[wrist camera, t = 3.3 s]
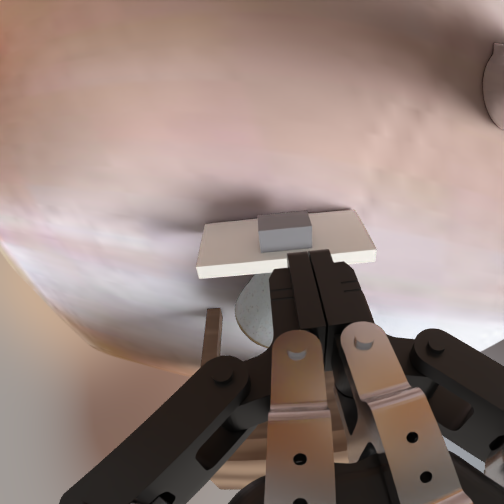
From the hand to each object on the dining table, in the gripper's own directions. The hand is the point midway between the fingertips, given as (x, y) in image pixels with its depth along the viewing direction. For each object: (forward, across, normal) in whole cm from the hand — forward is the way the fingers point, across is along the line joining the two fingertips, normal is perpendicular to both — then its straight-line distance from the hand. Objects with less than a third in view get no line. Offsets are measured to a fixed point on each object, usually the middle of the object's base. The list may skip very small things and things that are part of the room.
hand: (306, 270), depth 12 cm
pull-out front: (+17, 0, +7) cm, 18 cm away
